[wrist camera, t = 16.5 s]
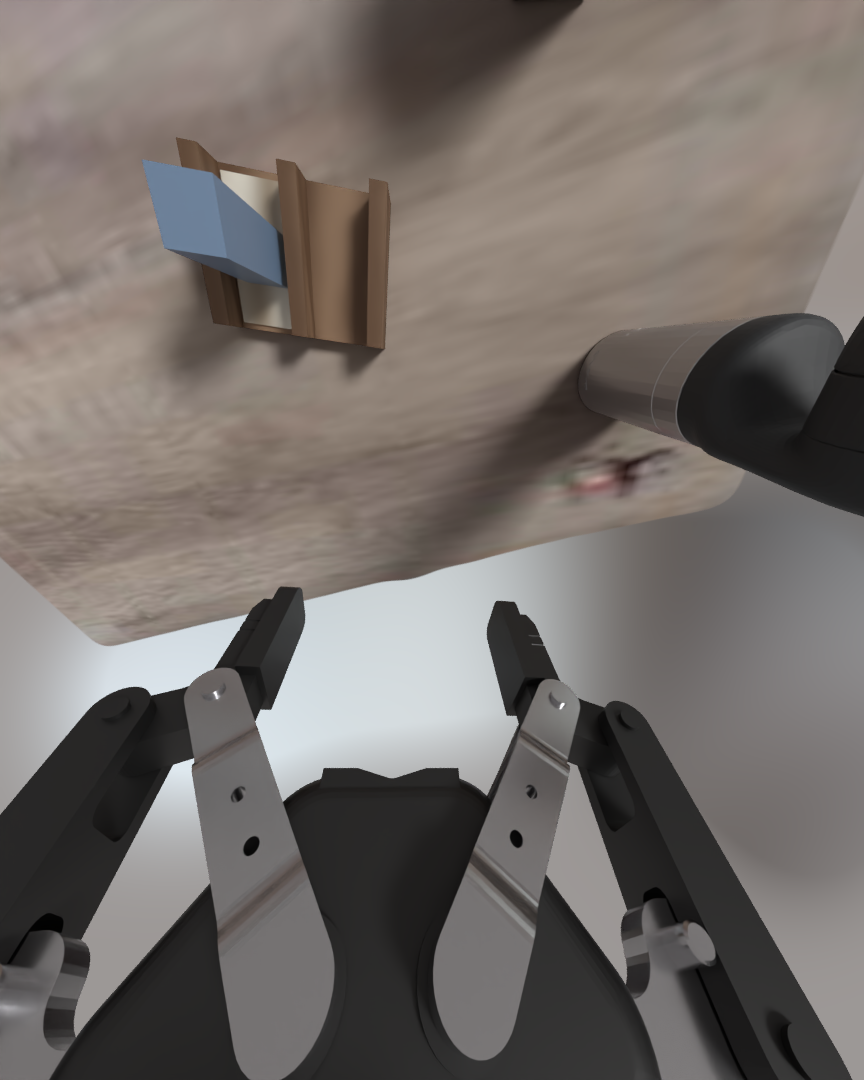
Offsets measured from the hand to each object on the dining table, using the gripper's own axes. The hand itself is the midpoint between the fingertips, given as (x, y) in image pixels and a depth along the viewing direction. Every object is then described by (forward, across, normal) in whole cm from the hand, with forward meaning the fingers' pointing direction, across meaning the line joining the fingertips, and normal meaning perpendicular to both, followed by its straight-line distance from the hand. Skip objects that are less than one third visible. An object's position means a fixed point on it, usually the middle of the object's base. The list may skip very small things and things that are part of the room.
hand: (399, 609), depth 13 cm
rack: (+33, +12, -15) cm, 38 cm away
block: (+31, +16, -15) cm, 38 cm away
